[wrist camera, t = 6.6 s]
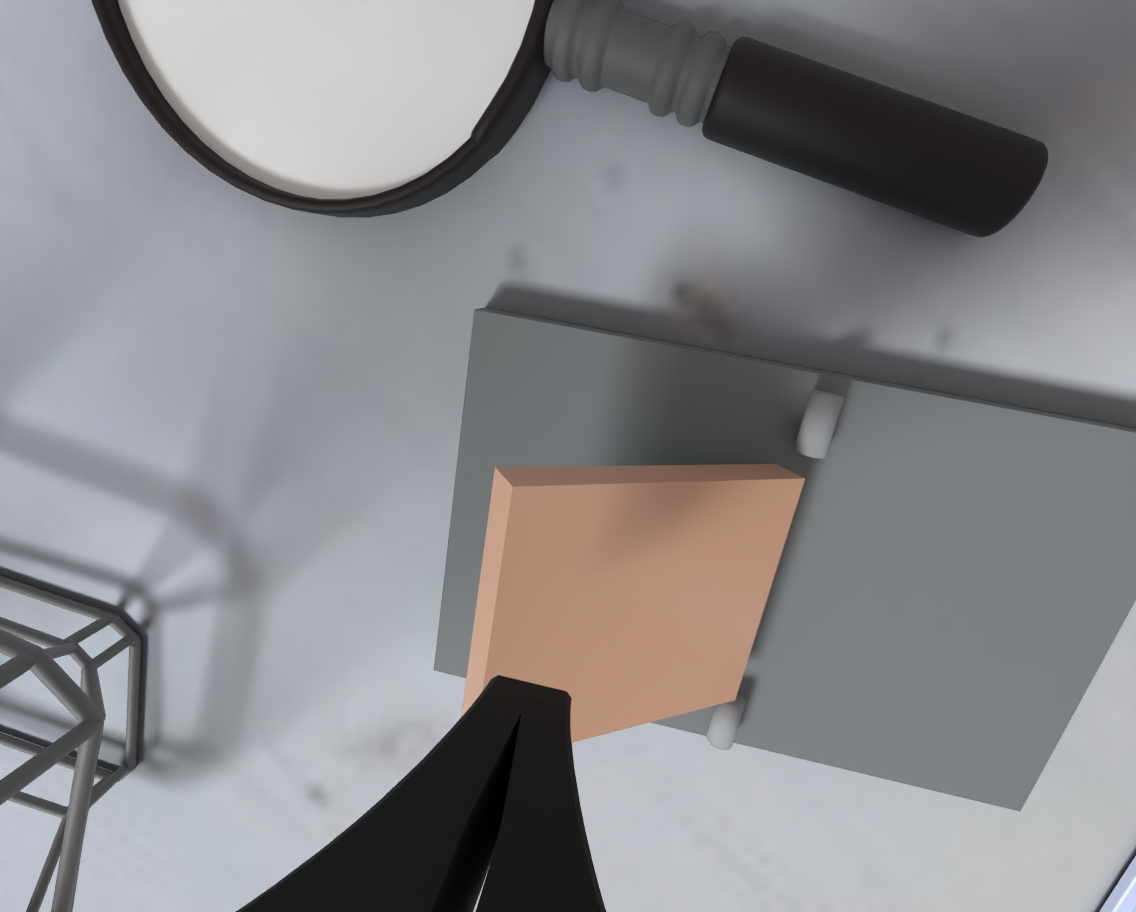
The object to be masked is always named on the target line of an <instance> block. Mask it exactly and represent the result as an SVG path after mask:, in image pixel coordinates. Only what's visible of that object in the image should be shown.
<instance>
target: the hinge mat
mask: <svg viewBox="0 0 1136 912" xmlns="http://www.w3.org/2000/svg"><path fill="white" fill-rule="evenodd" d="M729 464H778V465H780V466H782V467H784V468H786V469H787V470H789V471H791V472H793V473H795V474H797V475H799V476H801V477H803V478H805V481H804V484H803V487H802V490H801V493H800V496H799V500H798V503H797V506H796V509H795V512H794V515H793V519H792V522H791V525H790V528H789V531H788V534H787V538H786V541H785V544H784V547H783V550H782V553H781V557H780V560H779V563H778V566H777V569H776V572H775V576H774V579H773V582H772V585H771V588H770V591H769V595H768V598H767V601H766V604H765V607H764V610H763V614H762V617H761V620H760V623H759V626H758V629H757V633H756V636H755V639H754V642H753V645H752V648H751V652H750V655H749V658H748V661H747V664H746V667H745V671H744V674H743V677H742V680H741V683H740V686H739V690H738V693H737V696H736V699H735V700H734V701H730V702H726V703H722V704H719V705H715V706H711V707H707V708H703V709H699V710H695V711H692V712H688V713H684V714H680V715H676V716H672V717H668V718H664V719H661V720H657V721H653V722H651V723H655V724H659V725H663V726H667V727H672V728H676V729H680V730H684V731H688V732H692V733H696V734H701V735H705V736H707V739H708V741H709V743H710V744H711V745H712V746H714V747H716V748H718V749H721V750H728V749H730V748H731V747H732V744H733V742H734V743H738V744H742V745H746V746H750V747H755V748H759V749H763V750H767V751H771V752H775V753H780V754H784V755H788V756H792V757H796V758H800V759H804V760H809V761H813V762H817V763H821V764H825V765H829V766H834V767H838V768H842V769H846V770H850V771H854V772H858V773H863V774H867V775H871V776H875V777H879V778H883V779H888V780H892V781H896V782H900V783H904V784H908V785H912V786H917V787H921V788H925V789H929V790H933V791H937V792H942V793H946V794H950V795H954V796H958V797H962V798H967V799H971V800H975V801H979V802H983V803H987V804H991V805H996V806H1000V807H1004V808H1008V809H1012V810H1016V811H1021V809H1022V807H1023V806H1024V804H1025V802H1026V800H1027V798H1028V796H1029V795H1030V793H1031V791H1032V789H1033V787H1034V785H1035V784H1036V782H1037V780H1038V778H1039V776H1040V774H1041V773H1042V771H1043V769H1044V767H1045V765H1046V763H1047V762H1048V760H1049V758H1050V756H1051V754H1052V752H1053V751H1054V749H1055V747H1056V745H1057V743H1058V741H1059V740H1060V738H1061V736H1062V734H1063V732H1064V731H1065V729H1066V727H1067V725H1068V723H1069V721H1070V720H1071V718H1072V716H1073V714H1074V712H1075V710H1076V709H1077V707H1078V705H1079V703H1080V701H1081V699H1082V698H1083V696H1084V694H1085V692H1086V690H1087V688H1088V687H1089V685H1090V683H1091V681H1092V679H1093V677H1094V676H1095V674H1096V672H1097V670H1098V668H1099V666H1100V665H1101V663H1102V661H1103V659H1104V657H1105V655H1106V654H1107V652H1108V650H1109V648H1110V646H1111V644H1112V643H1113V641H1114V639H1115V637H1116V635H1117V633H1118V632H1119V630H1120V628H1121V626H1122V624H1123V622H1124V621H1125V619H1126V617H1127V615H1128V613H1129V611H1130V610H1131V608H1132V606H1133V604H1134V602H1135V600H1136V428H1131V427H1125V426H1120V425H1115V424H1109V423H1104V422H1099V421H1093V420H1088V419H1082V418H1077V417H1072V416H1066V415H1061V414H1055V413H1050V412H1045V411H1039V410H1034V409H1029V408H1023V407H1018V406H1012V405H1007V404H1002V403H996V402H991V401H985V400H980V399H975V398H969V397H964V396H959V395H953V394H948V393H942V392H937V391H932V390H926V389H921V388H915V387H910V386H905V385H899V384H894V383H888V382H883V381H878V380H872V379H867V378H862V377H856V376H851V375H845V374H840V373H835V372H829V371H824V370H818V369H813V368H808V367H802V366H797V365H792V364H786V363H781V362H775V361H770V360H765V359H759V358H754V357H748V356H743V355H738V354H732V353H727V352H722V351H716V350H711V349H705V348H700V347H695V346H689V345H684V344H678V343H673V342H668V341H662V340H657V339H651V338H646V337H641V336H635V335H630V334H625V333H619V332H614V331H608V330H603V329H598V328H592V327H587V326H581V325H576V324H571V323H565V322H560V321H555V320H549V319H544V318H538V317H533V316H528V315H522V314H517V313H511V312H506V311H501V310H495V309H490V308H480V309H475V310H474V319H473V328H472V337H471V346H470V354H469V363H468V372H467V381H466V390H465V399H464V408H463V416H462V425H461V434H460V443H459V452H458V461H457V469H456V478H455V487H454V496H453V505H452V514H451V522H450V531H449V540H448V549H447V558H446V567H445V576H444V584H443V593H442V602H441V611H440V620H439V629H438V637H437V646H436V655H435V664H434V670H435V671H439V672H443V673H447V674H451V675H456V676H460V677H464V678H467V671H468V663H469V656H470V649H471V641H472V634H473V626H474V619H475V612H476V604H477V597H478V589H479V582H480V575H481V567H482V560H483V552H484V545H485V538H486V530H487V523H488V515H489V508H490V501H491V493H492V486H493V478H494V471H495V467H552V466H640V465H729Z"/></svg>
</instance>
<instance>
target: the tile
mask: <svg viewBox="0 0 1136 912" xmlns="http://www.w3.org/2000/svg"><path fill="white" fill-rule="evenodd" d="M804 481H805V478H803V477H801V476H799V475H797V474H795V473H793V472H791V471H789V470H787V469H786V468H784V467H782V466H780V465H778V464H729V465H640V466H552V467H495V471H494V478H493V486H492V493H491V501H490V508H489V515H488V523H487V530H486V538H485V545H484V552H483V560H482V567H481V575H480V582H479V589H478V597H477V604H476V612H475V619H474V626H473V634H472V641H471V649H470V656H469V663H468V671H467V678H466V686H465V693H464V700H463V708H462V715H461V717H462V716H463V715H464V714H465V713H466V711H467V710H468V709H469V708H470V707H471V705H472V704H473V703H474V702H475V700H476V699H477V698H478V697H479V695H480V694H481V693H482V691H483V690H484V689H485V687H486V686H487V684H488V683H489V681H490V680H491V679H492V678H494V677H496V676H497V675H501V676H505V677H509V678H513V679H518V680H522V681H526V682H530V683H534V684H538V685H543V686H547V687H551V688H555V689H559V690H564V691H567V692H568V694H569V695H570V697H571V698H572V701H571V714H570V726H571V742H576V741H580V740H583V739H587V738H591V737H595V736H599V735H603V734H607V733H610V732H614V731H618V730H622V729H626V728H630V727H634V726H637V725H641V724H645V723H649V722H653V721H657V720H661V719H664V718H668V717H672V716H676V715H680V714H684V713H688V712H692V711H695V710H699V709H703V708H707V707H711V706H715V705H719V704H722V703H726V702H730V701H734V700H735V699H736V696H737V693H738V690H739V686H740V683H741V680H742V677H743V674H744V671H745V667H746V664H747V661H748V658H749V655H750V652H751V648H752V645H753V642H754V639H755V636H756V633H757V629H758V626H759V623H760V620H761V617H762V614H763V610H764V607H765V604H766V601H767V598H768V595H769V591H770V588H771V585H772V582H773V579H774V576H775V572H776V569H777V566H778V563H779V560H780V557H781V553H782V550H783V547H784V544H785V541H786V538H787V534H788V531H789V528H790V525H791V522H792V519H793V515H794V512H795V509H796V506H797V503H798V500H799V496H800V493H801V490H802V487H803V484H804Z"/></svg>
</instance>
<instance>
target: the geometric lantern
mask: <svg viewBox="0 0 1136 912" xmlns="http://www.w3.org/2000/svg"><path fill="white" fill-rule="evenodd" d="M0 587H2V588H5V589H8V590H11V591H14V592H17V593H20V594H23V595H26V596H29V597H32V598H35V599H37V600H40V601H43V602H46V603H49V604H52V605H55V606H58V607H61V608H64V609H67V610H70V611H73V612H76V613H79V614H81V615H84V616H87V617H90V618H93V619H96V621H95V622H93V623H91V624H90V625H88V626H86V627H84V628H83V629H81V630H79V631H78V632H76V633H74V634H72V635H71V636H69V637H67V638H66V639H64V640H63V639H60V638H58V637H55V636H52V635H49V634H46V633H44V632H41V631H38V630H35V629H32V628H30V627H27V626H24V625H21V624H18V623H16V622H13V621H10V620H7V619H5V618H2V617H0V653H3V654H5V655H7V656H9V657H11V658H12V659H10V660H9V661H7V662H6V663H4V664H2V665H1V666H0V689H1V688H2V687H4V686H5V685H7V684H8V683H10V682H11V681H13V680H14V679H16V678H17V677H19V676H20V675H22V674H23V673H25V672H26V671H28V670H29V669H30V670H31V671H32V672H33V673H34V674H35V675H36V676H37V678H38V679H39V680H40V681H41V682H42V683H43V684H44V685H45V686H46V687H47V688H48V689H49V690H50V691H51V692H52V693H53V694H54V695H55V696H56V697H57V698H58V700H59V701H60V702H61V703H62V704H63V705H64V706H65V707H66V708H67V709H68V710H69V711H70V712H71V713H72V714H73V715H74V716H75V718H76V719H77V720H78V721H79V725H78V726H76V727H75V728H73V729H72V730H71V731H69V732H68V733H66V734H65V735H64V736H62V737H61V738H59V739H58V740H56V741H55V742H54V743H52V744H51V745H49V746H48V747H47V748H43V747H40V746H37V745H34V744H32V743H29V742H26V741H23V740H20V739H17V738H14V737H12V736H9V735H6V734H3V733H0V744H2V745H4V746H7V747H10V748H13V749H16V750H19V751H22V752H24V753H27V754H30V755H33V756H34V757H32V758H31V759H30V760H28V761H27V762H25V763H24V764H23V765H21V766H20V767H18V768H17V769H16V770H14V771H13V772H11V773H10V774H8V775H7V776H6V777H4V778H3V779H1V780H0V805H1V804H3V803H4V802H5V801H7V800H9V801H12V802H15V803H18V804H21V805H24V806H27V807H30V808H33V809H36V810H39V811H42V812H45V813H48V814H51V815H54V816H57V817H60V818H62V821H61V823H60V826H59V828H58V831H57V833H56V836H55V839H54V841H53V844H52V846H51V849H50V851H49V854H48V857H47V859H46V862H45V864H44V867H43V869H42V872H41V875H40V877H39V880H38V882H37V885H36V887H35V890H34V893H33V895H32V898H31V900H30V903H29V905H28V908H27V911H26V912H38V911H39V908H40V906H41V903H42V901H43V898H44V895H45V893H46V890H47V888H48V885H49V882H50V880H51V877H52V874H53V872H54V869H55V867H56V864H57V861H58V859H59V856H60V861H59V868H58V874H57V880H56V886H55V892H54V898H53V904H52V910H51V912H72V910H73V904H74V897H75V890H76V884H77V877H78V870H79V864H80V857H81V851H82V844H83V838H84V833H85V827H86V822H87V816H88V811H89V808H90V807H91V806H92V805H93V804H94V803H95V802H96V801H97V800H98V799H99V798H101V797H102V796H103V795H104V794H105V793H106V792H107V791H108V790H109V789H110V788H111V787H112V786H113V785H114V784H115V783H116V782H119V781H120V780H121V779H123V778H124V777H125V776H126V775H128V774H129V773H130V772H131V771H133V770H134V769H135V768H136V766H137V762H136V752H137V728H138V704H139V680H140V656H141V642H140V641H141V637H140V636H139V635H138V634H137V633H136V632H135V631H134V630H132V629H131V628H130V627H129V626H128V625H127V624H126V623H124V622H123V621H122V620H121V619H120V618H119V617H118V616H116V615H115V614H114V613H109V612H106V611H103V610H100V609H97V608H94V607H91V606H88V605H85V604H82V603H79V602H76V601H73V600H70V599H67V598H64V597H61V596H59V595H56V594H53V593H50V592H47V591H44V590H41V589H38V588H35V587H32V586H29V585H26V584H23V583H20V582H17V581H14V580H11V579H8V578H6V577H3V576H0ZM107 625H110V626H111V627H112V628H113V629H115V630H116V631H117V632H118V633H119V634H120V635H121V636H123V637H124V638H122V639H121V640H119V641H118V642H116V643H115V644H114V645H112V646H111V647H109V648H108V649H106V650H105V651H103V652H102V653H101V654H99V655H98V656H96V657H95V658H93V659H92V658H91V657H90V656H89V655H88V654H87V653H86V652H85V651H84V650H83V649H82V648H81V647H80V646H79V644H78V643H79V642H81V641H82V640H84V639H86V638H87V637H89V636H91V635H92V634H94V633H96V632H97V631H99V630H101V629H102V628H104V627H106V626H107ZM15 635H16V636H15ZM17 636H19V637H21V638H19V637H17ZM22 638H24V639H27V640H30V641H33V642H35V643H38V644H41V645H44V646H46V647H49V648H47V649H42V648H41V647H39V646H37V645H35V644H32V643H30V642H28V641H26V640H24V639H22ZM128 646H129V669H128V699H127V728H126V758H125V765H123V766H121V767H119V768H118V769H117V770H116V771H115V772H111V771H109V770H106V769H103V768H100V767H97V766H96V765H97V760H98V754H99V749H100V743H101V737H102V732H103V726H104V720H105V716H106V714H105V709H104V704H103V699H102V693H101V688H100V683H99V677H98V672H97V668H98V667H100V666H101V665H103V664H104V663H105V662H107V661H108V660H110V659H111V658H112V657H114V656H115V655H117V654H118V653H119V652H121V651H122V650H124V649H125V648H126V647H128ZM68 654H69V655H70V656H71V657H72V658H73V659H74V660H75V661H76V662H77V663H78V664H79V665H80V666H81V667H82V670H81V688H80V687H79V686H78V685H77V684H76V683H75V682H74V681H73V680H72V679H71V678H70V677H69V676H68V675H67V674H66V673H65V671H64V670H63V669H62V668H61V667H60V666H59V665H58V664H57V663H56V662H55V661H54V660H53V659H54V658H57V657H61V656H65V655H68ZM77 747H78V752H77V758H76V759H74V758H71V757H69V756H67V755H68V754H69V753H71V752H72V751H73V750H75V749H76V748H77ZM55 764H58V765H61V766H64V767H67V768H70V769H73V770H75V771H74V777H73V783H72V789H71V795H70V801H69V806H68V807H65V806H62V805H59V804H56V803H53V802H50V801H47V800H44V799H41V798H38V797H35V796H32V795H29V794H26V793H23V792H20V790H21V789H23V788H24V787H25V786H27V785H28V784H29V783H31V782H32V781H33V780H35V779H36V778H37V777H39V776H40V775H41V774H43V773H44V772H45V771H47V770H48V769H49V768H51V767H52V766H53V765H55ZM94 777H95V778H98V779H101V780H100V781H99V782H98V783H97V784H95V785H94V786H93V782H94ZM60 854H61V855H60Z"/></svg>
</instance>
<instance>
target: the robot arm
mask: <svg viewBox="0 0 1136 912" xmlns="http://www.w3.org/2000/svg"><path fill="white" fill-rule="evenodd" d="M571 701H572V698H571V697H570V695H569V694H568V692H567V691H564V690H559V689H555V688H551V687H547V686H543V685H538V684H534V683H530V682H526V681H522V680H518V679H513V678H509V677H505V676H501V675H497V676H496V677H494V678H492V679H491V680H490V681H489V683H488V684H487V686H486V687H485V689H484V690H483V691H482V693H481V694H480V695H479V697H478V698H477V699H476V700H475V702H474V703H473V704H472V705H471V707H470V708H469V709H468V710H467V711H466V713H465V714H464V715H463V716H462V717H461V718H460V720H459V721H458V722H457V723H456V724H455V725H454V726H453V728H452V729H451V730H450V731H449V732H448V733H447V734H446V735H445V736H444V737H443V738H442V739H441V740H440V742H439V743H438V744H437V745H436V746H435V747H434V748H433V749H432V750H431V751H430V752H429V753H428V754H427V755H426V756H425V758H424V759H423V760H422V761H421V762H420V763H419V764H418V765H417V766H416V767H415V768H413V769H412V770H411V771H410V772H409V773H408V774H407V775H406V776H405V777H404V778H403V779H402V780H401V781H400V782H399V783H398V784H397V785H396V786H395V787H393V788H392V789H391V790H390V791H389V792H388V793H387V794H386V795H385V796H384V797H383V798H382V799H381V800H380V801H379V802H377V803H376V804H375V805H374V806H373V807H372V808H371V809H370V810H368V811H367V812H366V813H365V814H364V815H363V816H362V817H360V818H359V819H358V820H357V821H356V822H355V823H353V824H352V825H351V826H350V827H349V828H347V829H346V830H345V831H344V832H342V833H341V834H340V835H339V836H338V837H336V838H335V839H334V840H333V841H331V842H330V843H329V844H328V845H327V846H325V847H324V848H323V849H321V850H320V851H319V852H318V853H316V854H315V855H314V856H312V857H311V858H310V859H308V860H307V861H306V862H304V863H303V864H302V865H300V866H299V867H298V868H296V869H295V870H294V871H292V872H291V873H290V874H288V875H287V876H286V877H284V878H283V879H282V880H280V881H279V882H278V883H276V884H275V885H274V886H272V887H271V888H269V889H268V890H267V891H265V892H264V893H262V894H261V895H260V896H258V897H257V898H255V899H254V900H252V901H251V902H250V903H248V904H247V905H245V906H244V907H242V908H241V909H239V910H238V911H236V912H473V910H474V907H475V905H476V902H477V899H478V896H479V893H480V891H481V888H482V885H483V882H484V880H485V877H486V880H485V883H484V886H483V890H482V893H481V896H480V899H479V903H478V906H477V909H476V912H606V910H605V906H604V903H603V900H602V896H601V892H600V889H599V885H598V881H597V878H596V874H595V870H594V866H593V862H592V858H591V853H590V849H589V845H588V840H587V836H586V832H585V827H584V822H583V817H582V812H581V807H580V801H579V795H578V789H577V783H576V777H575V770H574V762H573V753H572V742H571V726H570V714H571ZM489 866H490V867H489ZM488 868H489V870H488ZM487 871H488V873H487ZM486 874H487V876H486ZM1099 912H1136V856H1135V857H1134V859H1133V861H1132V862H1131V864H1130V865H1129V867H1128V868H1127V870H1126V871H1125V873H1124V874H1123V876H1122V877H1121V879H1120V881H1119V882H1118V884H1117V885H1116V887H1115V888H1114V890H1113V891H1112V893H1111V894H1110V896H1109V897H1108V899H1107V901H1106V902H1105V904H1104V905H1103V907H1102V908H1101V910H1100V911H1099Z"/></svg>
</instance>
